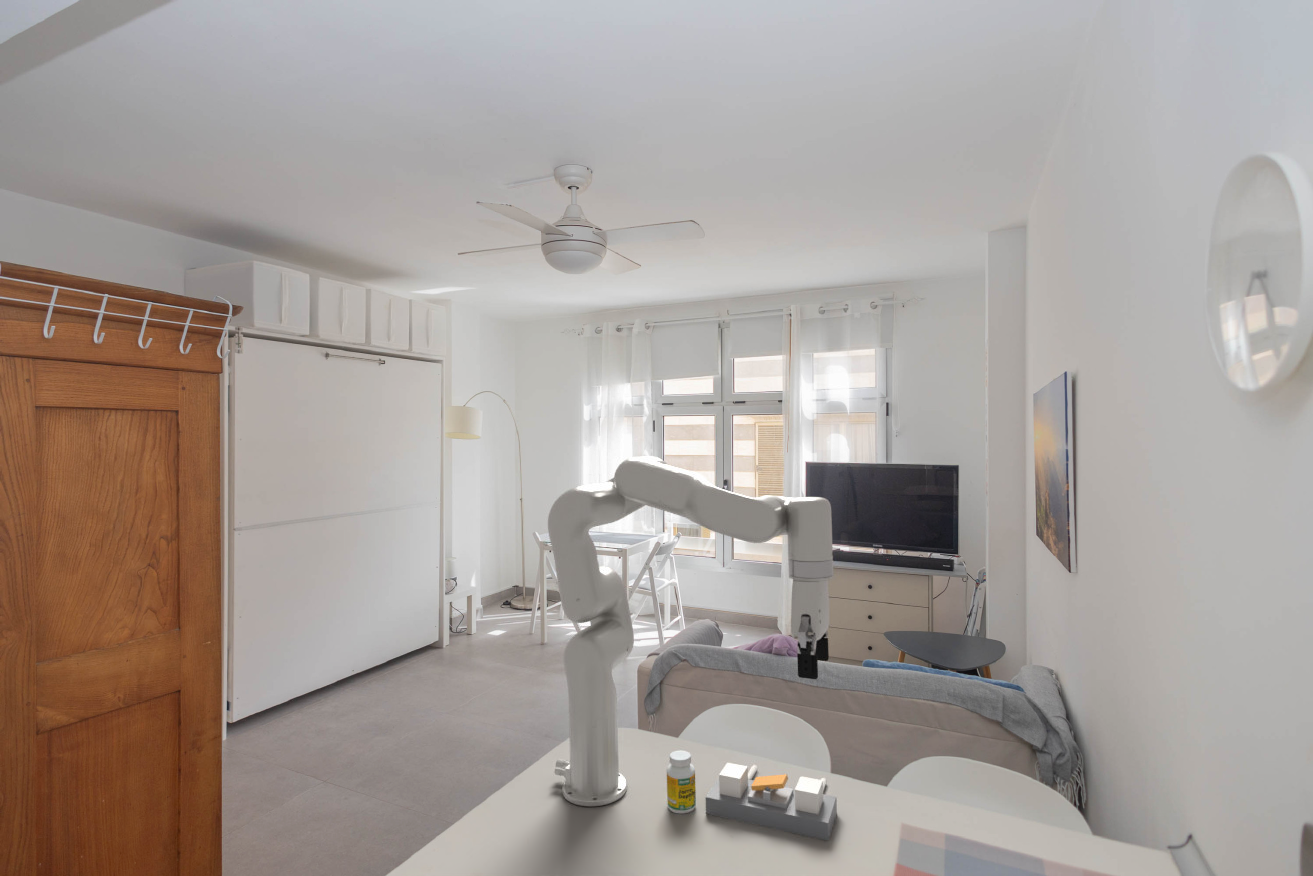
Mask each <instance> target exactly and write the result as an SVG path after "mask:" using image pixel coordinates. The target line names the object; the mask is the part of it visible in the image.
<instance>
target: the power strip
mask: <svg viewBox="0 0 1313 876" xmlns="http://www.w3.org/2000/svg"><path fill="white" fill-rule="evenodd" d="M748 770H749V771H748ZM757 771H758V766H757V765H756V764H753V765H751V767H750V769H749V768H748V765H742V764H737V763H732V762H727V763H726V764H725V765H724V767H723V768H722V770H721V771H720V773H719V774H718V778H717V780H716V781H715V782H714V784H713V785H712V787H710V788H711V789H709V791H708V793H707V794H706V795H705V814H708V815H710V814H711V816H715V815H716V816H715V817H720V818H723V819H730V820H733V821H739V822H742V823H745V824H746V823H747V824H752V825H756V826H760V827H765V828H769V829H773V830H778V831H783V832H787V833H792V834H795V835H801V836H805V837H810V838H814V839H819V840H823V841H827V842H829V840H830V838H831V834H832V830H833V827H834V825H835V820H836V819H837V818H836V817H837V814H838V809H837V805H838V804H837V796H835V795H830V794H825V793H824V790H825V787H826V785H827V778H826V777H821V778H820V779H817V778H811V777H807V776H800V777H799V779H798V780H797V784H796V785H795V788H793V787H789V786H784V788H781V789H771V791H766V790H754V791H752V788H751V785H752V784H753V782H754V780H755V779H753V777H754V776H755V775H756V772H757Z"/></svg>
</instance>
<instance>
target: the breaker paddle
mask: <svg viewBox="0 0 1313 876" xmlns="http://www.w3.org/2000/svg"><path fill="white" fill-rule="evenodd" d="M788 779H789V777H788V774H787V773H786V774H774V775H762V776H761V775H760V776H756V777H755V778H754V779H753V780H754V782H753V784H752V785H751V788H752V791H754V790H766V791H771V789H781V788H784V787H786V784H787V782H788Z"/></svg>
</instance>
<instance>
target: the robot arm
mask: <svg viewBox="0 0 1313 876" xmlns="http://www.w3.org/2000/svg"><path fill="white" fill-rule="evenodd" d="M645 506H647V507H651V508H654V509H657V510H660V511H664V512H667V513H670V514H673V515H675V516H676V515H677V516H680V517H683V518H685V519H688V520H689V521H690V522H692V523H694V524H697V525H699V526H701V527H703V528H705V529H706V530H709V531H712V532H714V533H718V534H721V535H723V536H727V537H730V538H733V539H736V540H740V541H742V542H748V543H753V544H764V543H767V542H769V541H771V540H772V539H774V538H776V537H779V536H785V535H787V555H788V563H787V564H788V578H789V579H791V580H792V585H791V599H790V600H791V606H790V607H791V609H790V611H791V612H790V614H791V615H790V617H791V618H790V620H791V621H790V636H791V638H793V639H797V640H798V641H797V649H796V650H797V651H796V652H797V653H796V654H797V655H796V656H797V676H798V678H801V679H808V680H817V679H818V677H819V668H818V667H819V665H818V661H821V662H827V661H829V660H830V659H829V658H830V656H829V655H830V654H829V638H828V635H829V633H828V629H829V626H830V598H829V582H828V581H831V580H833V579H834V556H833V524H832V521H833V519H832V506H831V502H830V501H829V499H827V498H825V497H821V496H801V497H786V496H779V495H773V494H772V495H770V494H768V495H761V496H757V497H754V498H753V497H750V496H746V495H743V494H739V493H735V492H732V491H729V490H726V489H723V488H720V487H717V486H715V485H713V484H712V483H710V482H709V481H708V480H707V479H706V478H705V477H704V476H703V475H701V474H700V473H698V472H695V471H690V470H686V469H683V468H679V467H676V466H672V465H670V464H669V465H668V463H667V462H666V461H664V460H663V459H661V458H659V457H657V456H651V455H648V456H647V455H646V456H632V457H630V458H626V459H625V460H623V461H622V462H621V463H620V464H619V465H618V466H617V468H616V470H615V472H614V475H613V477H612V478H611V479H608V480H606V481H604V482H599V483H589V484H583V485H579V486H574V487H572V488H570V489H568V490H566V491H564V492H563V493H562V494H560V495H559V496H558V497H557V499H556V500H555V501H554V502H553V504H552V505H551V508H550V510H549V513H548V516H547V530H548V532H547V533H548V536H549V540H550V545H551V549H552V554H553V558H554V559H553V560H554V564H555V565H554V567H555V573H556V578H557V585H558V591H559V597H560V603H561V608H562V610H563V614H564V615H565V617H566V618H567V619H568V620H569V621H571V622H573V623H576V624H584V623H588V622H589V623H590V625H589V626H587V627H585V628H584V629H582V630H580V631H578V632H576V633H575V635H573V636H572V637H570V639H569V641H568V642H567V644H566V646H565V648H564V652H563V658H562V659H563V667H564V672H565V676H566V677H565V678H566V683H567V693H568V713H569V714H568V715H569V716H568V719H569V720H568V721H569V725H568V726H569V729H568V730H569V731H568V732H569V760H566V759H563V758H558V759H557V760H556V761H555V768H554V775H557V776H560V777H561V776H563V777H564V778H565V780H564V781H563V784H562V789H561V791H562V795H563V797H564V798H565V800H566V801H568V802H569V803H571V804H574V805H577V806H581V807H602V806H605V805H609V804H612V803H613V802H616V801H618V800H620V799H621V798H622V797H623V796H624V795H625V793H626V792H627V788H628V786H627V785H628V782H627V779H626V778H625V776H624V775H623V774H622V773H620V771H619V723H618V722H619V720H618V713H619V712H618V696H617V695H618V694H617V689H616V686H615V682H614V679H613V675H612V673H613V670H614V669H615V668H616V667H617V666H618V665H620V664H621V663H623V662H624V661H626V659H627V658H629V656H630V654H631V653H632V651H633V648H634V643H635V640H634V639H635V638H634V637H635V634H634V628H633V623H632V615H631V609H630V606H629V599H628V593H627V590H626V586H625V583H624V581H623V579H622V577H621V575H619V573H617V571H616V570H614V569H613V568H611V567H607V566H603V565H602V566H600V565H599V560H598V553H597V549H596V545H595V543H594V541H593V539H592V537H591V535H590V534H589V531H590V530H591V529H592V528H596V527H598V526H603V525H608V524H612V523H615V522H618V521H619V520H622V519H624V518H625V517H627V516H630V515H631V514H632V513H634V512H636V511H638V510H641V509H642V508H643V507H645Z"/></svg>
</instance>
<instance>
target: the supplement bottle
mask: <svg viewBox="0 0 1313 876" xmlns="http://www.w3.org/2000/svg"><path fill="white" fill-rule="evenodd" d="M669 763H670V764H669V765H667V768H666V793H667V800H666V801H667V808H668V809H669V810H670V811H671V812H673V813H676V814H681V815H682V814H688V813H690V812H693V811H694V810H695V808H696V804H697V803H696V801H697V797H696V794H697V791H696V769H695V766H694V764H692V755H691V752H688V751H686V750H674V751H672V752H671V753H670V754H669Z"/></svg>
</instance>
